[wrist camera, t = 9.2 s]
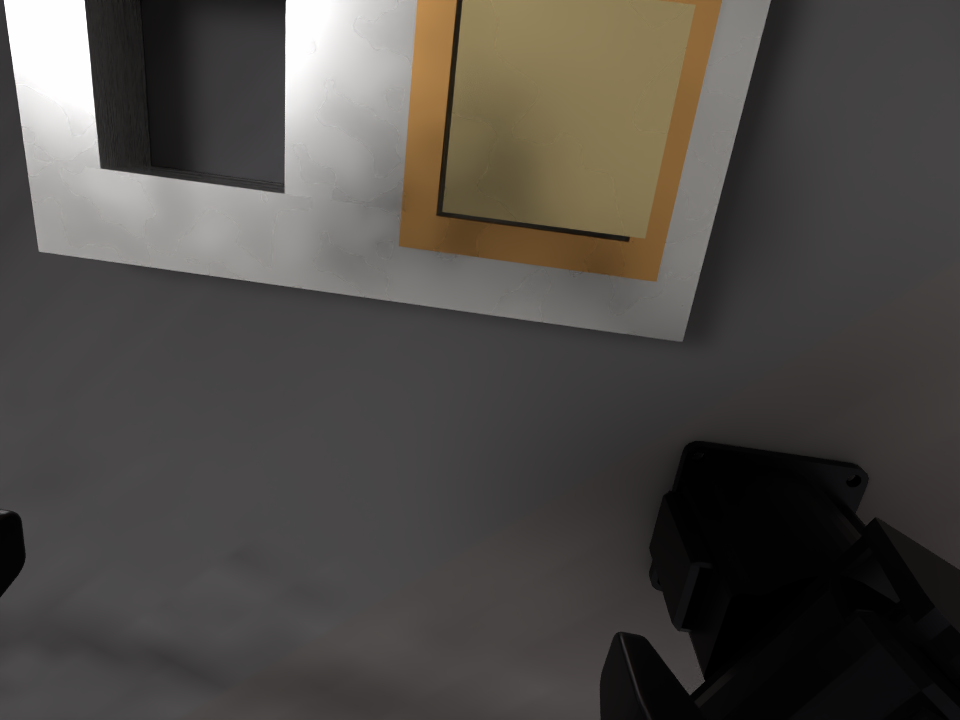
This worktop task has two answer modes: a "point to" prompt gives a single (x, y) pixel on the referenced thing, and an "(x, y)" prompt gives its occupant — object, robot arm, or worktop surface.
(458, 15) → the rail plate
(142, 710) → the worktop surface
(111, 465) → the worktop surface
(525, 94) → the brass peg
